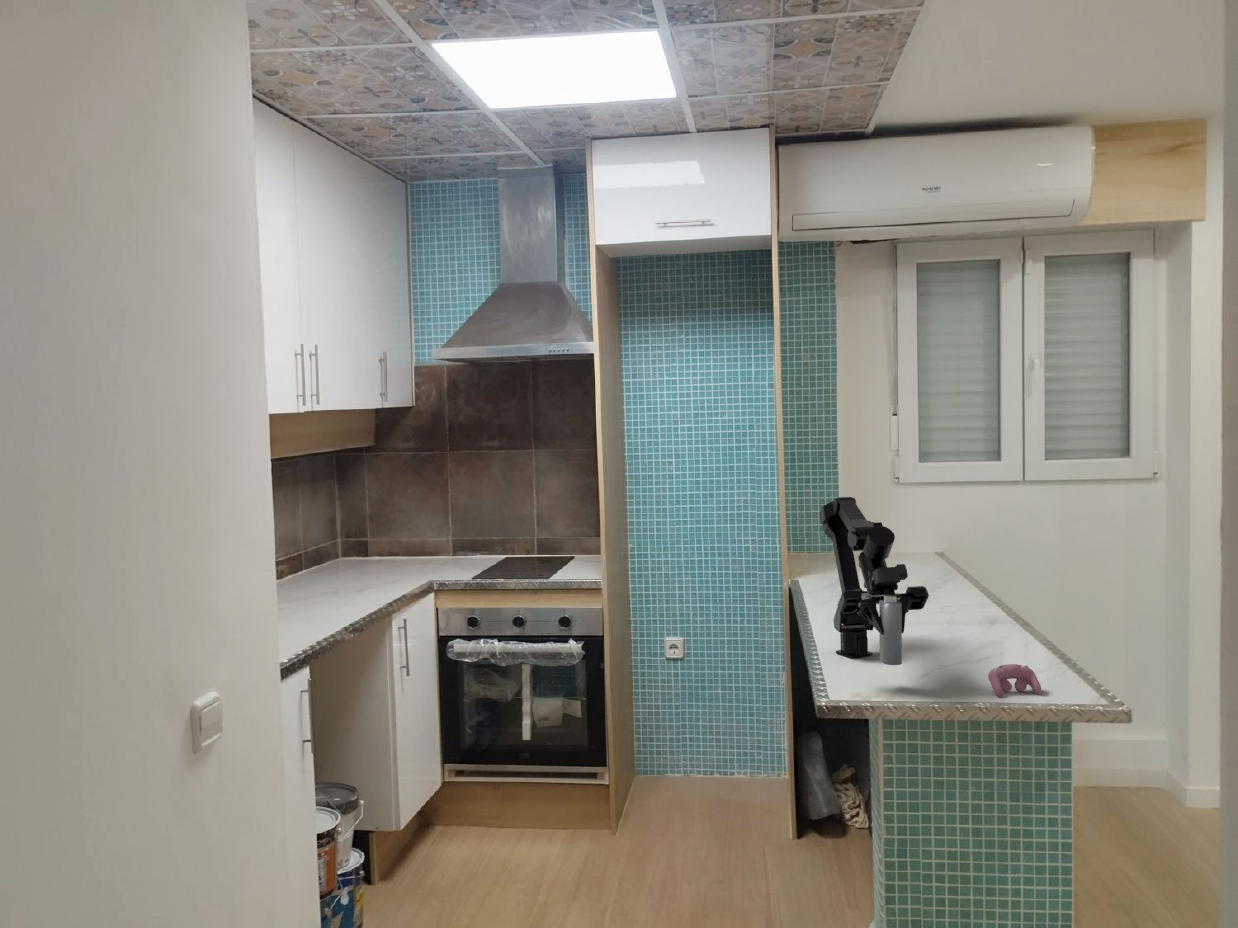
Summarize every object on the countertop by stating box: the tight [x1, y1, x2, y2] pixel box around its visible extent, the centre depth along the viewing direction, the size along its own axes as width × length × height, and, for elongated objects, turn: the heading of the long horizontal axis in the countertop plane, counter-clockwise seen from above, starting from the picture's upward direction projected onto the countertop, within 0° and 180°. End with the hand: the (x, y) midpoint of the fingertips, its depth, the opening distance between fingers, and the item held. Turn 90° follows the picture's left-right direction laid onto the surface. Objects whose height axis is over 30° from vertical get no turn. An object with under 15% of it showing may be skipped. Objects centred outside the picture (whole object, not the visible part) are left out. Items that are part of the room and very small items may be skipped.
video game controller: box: [987, 663, 1042, 698], centre depth 213 cm, size 10×5×7 cm, turn 93°
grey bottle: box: [878, 596, 903, 666], centre depth 218 cm, size 6×4×14 cm, turn 3°
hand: (892, 632), depth 217 cm, fingers closed on grey bottle, 4 cm apart
